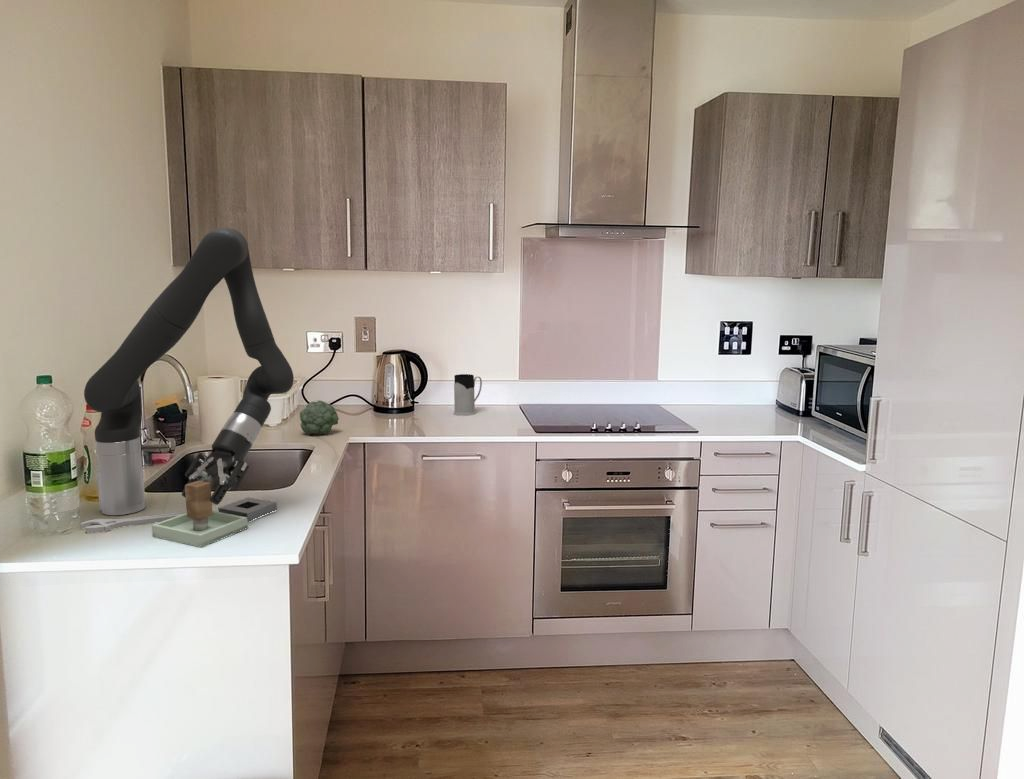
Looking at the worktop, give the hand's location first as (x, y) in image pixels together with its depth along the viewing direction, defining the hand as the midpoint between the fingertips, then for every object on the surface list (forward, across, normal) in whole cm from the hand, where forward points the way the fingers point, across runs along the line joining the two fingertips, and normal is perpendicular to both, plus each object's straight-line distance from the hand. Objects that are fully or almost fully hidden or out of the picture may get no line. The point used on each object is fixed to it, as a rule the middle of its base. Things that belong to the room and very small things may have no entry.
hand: (199, 500), depth 162 cm
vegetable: (-57, -45, +68) cm, 100 cm away
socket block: (-4, 0, +14) cm, 15 cm away
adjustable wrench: (+7, -16, +4) cm, 18 cm away
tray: (+5, 0, +5) cm, 7 cm away
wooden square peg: (+5, 0, +4) cm, 6 cm away
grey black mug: (-96, -17, +107) cm, 145 cm away
